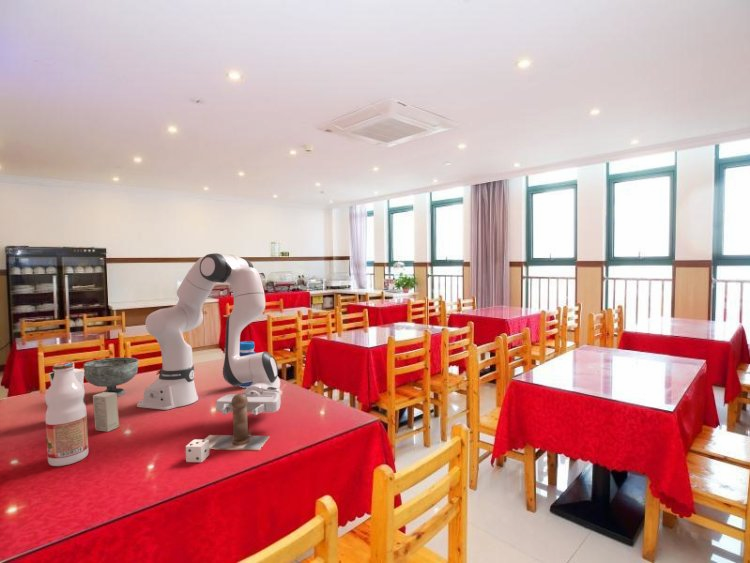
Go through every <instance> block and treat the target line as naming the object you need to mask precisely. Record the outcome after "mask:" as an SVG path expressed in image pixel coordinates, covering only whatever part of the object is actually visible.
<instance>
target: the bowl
mask: <svg viewBox="0 0 750 563" xmlns="http://www.w3.org/2000/svg"><path fill="white" fill-rule="evenodd" d="M139 361H140V360H139V359H138V358H135V357H125V356H124V357H109V358H101V359H97V360H91V361H90V360H89V361H87V362H85V363H83V370H84V379H85V380H86V382H88V383H89V384H91V385H93V386H94V387H95V386H96V387H102V388H103V387H105V388H106V389H105V390H103V391H101V392H100V393H102V392H113V393H117V396H119V397H120V395H121V396H123V395H124V394H125V393H126V390H125V389H124V388H120V387H119V388H118V387H117V386H121V385H124V384H127V383H128V382H129V381H131V380H132V379H134V378H135V376H137V373H138V368H139ZM122 394H123V395H122Z"/></svg>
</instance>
